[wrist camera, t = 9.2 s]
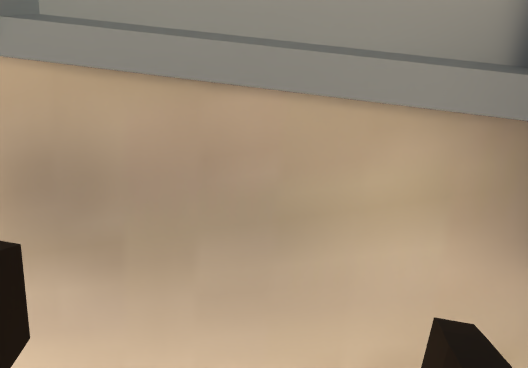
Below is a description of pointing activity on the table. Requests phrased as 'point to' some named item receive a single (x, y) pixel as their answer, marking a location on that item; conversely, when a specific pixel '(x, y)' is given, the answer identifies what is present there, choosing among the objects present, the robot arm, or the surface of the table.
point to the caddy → (296, 46)
